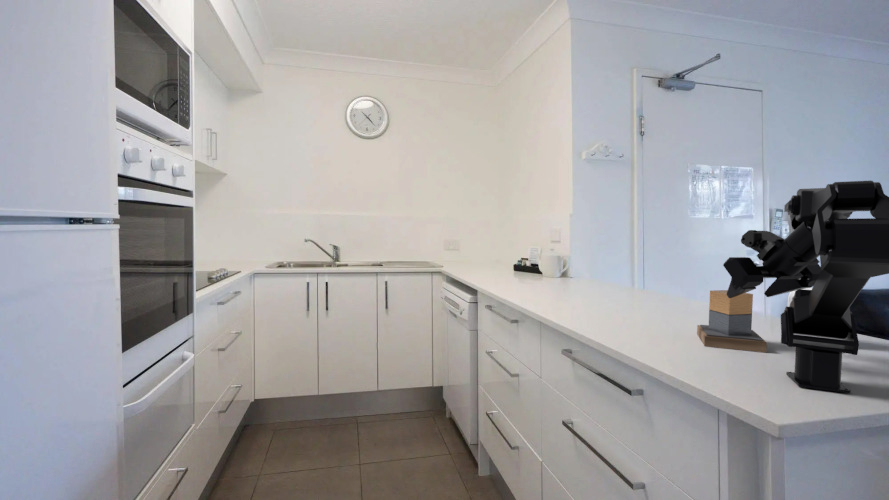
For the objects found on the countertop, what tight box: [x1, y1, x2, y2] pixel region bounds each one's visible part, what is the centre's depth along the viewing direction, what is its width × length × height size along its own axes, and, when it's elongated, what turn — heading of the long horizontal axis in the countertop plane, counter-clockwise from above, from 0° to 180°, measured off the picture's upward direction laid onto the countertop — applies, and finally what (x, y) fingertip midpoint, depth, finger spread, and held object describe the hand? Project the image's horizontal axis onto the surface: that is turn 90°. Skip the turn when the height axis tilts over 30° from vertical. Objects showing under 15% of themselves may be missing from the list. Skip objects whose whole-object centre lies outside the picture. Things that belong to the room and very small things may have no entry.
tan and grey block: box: [708, 289, 754, 335], centre depth 92 cm, size 6×6×9 cm
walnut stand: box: [696, 324, 768, 353], centre depth 93 cm, size 11×11×2 cm
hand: (747, 295), depth 87 cm, fingers open, 9 cm apart
